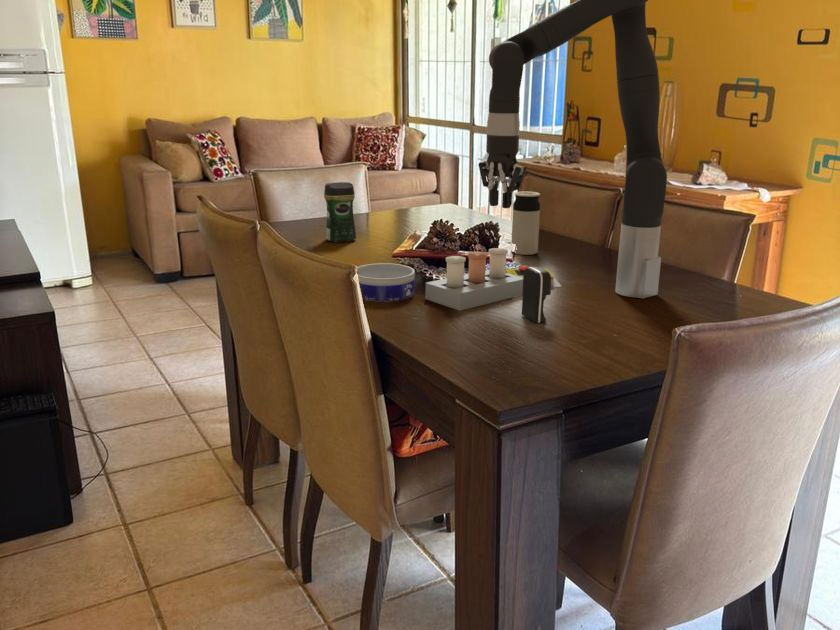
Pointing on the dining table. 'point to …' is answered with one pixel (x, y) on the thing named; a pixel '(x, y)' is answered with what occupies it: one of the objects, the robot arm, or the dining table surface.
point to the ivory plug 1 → (455, 271)
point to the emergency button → (520, 273)
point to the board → (474, 291)
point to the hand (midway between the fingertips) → (500, 206)
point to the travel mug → (526, 222)
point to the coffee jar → (340, 211)
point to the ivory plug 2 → (497, 263)
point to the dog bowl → (386, 282)
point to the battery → (535, 293)
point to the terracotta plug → (477, 267)
